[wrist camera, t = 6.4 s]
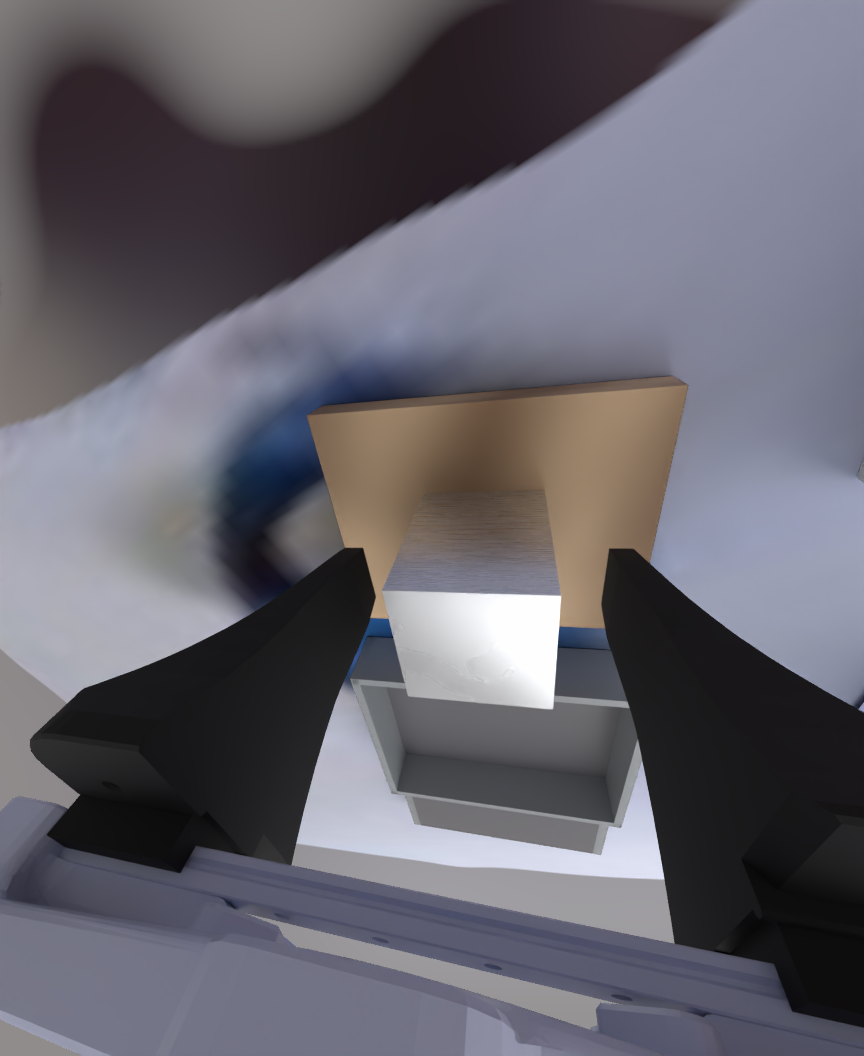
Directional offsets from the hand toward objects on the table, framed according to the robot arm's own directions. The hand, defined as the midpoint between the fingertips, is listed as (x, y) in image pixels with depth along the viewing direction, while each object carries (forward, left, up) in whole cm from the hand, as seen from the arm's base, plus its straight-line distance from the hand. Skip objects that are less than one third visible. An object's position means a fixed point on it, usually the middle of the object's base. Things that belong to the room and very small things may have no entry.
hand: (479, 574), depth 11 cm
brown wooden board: (0, 0, -4) cm, 4 cm away
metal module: (0, 0, -2) cm, 2 cm away
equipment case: (0, +16, -4) cm, 16 cm away
